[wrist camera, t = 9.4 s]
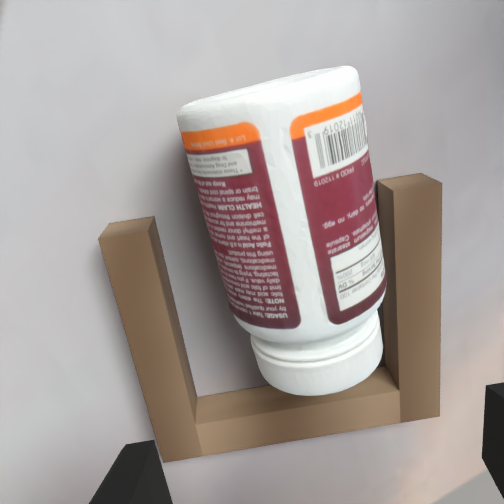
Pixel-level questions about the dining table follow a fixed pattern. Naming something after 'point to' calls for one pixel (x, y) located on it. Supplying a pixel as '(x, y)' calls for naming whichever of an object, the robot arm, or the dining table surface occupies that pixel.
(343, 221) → the pill bottle
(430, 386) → the socket block
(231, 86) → the dining table surface
